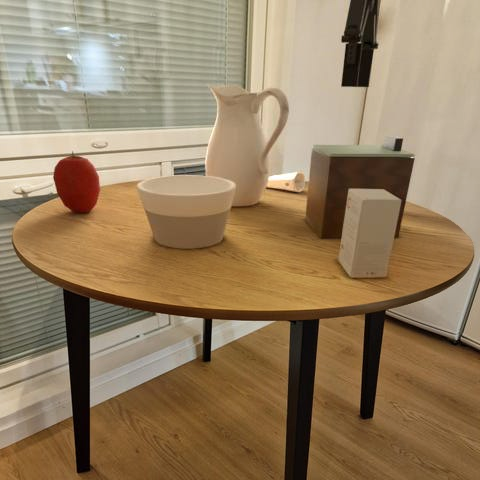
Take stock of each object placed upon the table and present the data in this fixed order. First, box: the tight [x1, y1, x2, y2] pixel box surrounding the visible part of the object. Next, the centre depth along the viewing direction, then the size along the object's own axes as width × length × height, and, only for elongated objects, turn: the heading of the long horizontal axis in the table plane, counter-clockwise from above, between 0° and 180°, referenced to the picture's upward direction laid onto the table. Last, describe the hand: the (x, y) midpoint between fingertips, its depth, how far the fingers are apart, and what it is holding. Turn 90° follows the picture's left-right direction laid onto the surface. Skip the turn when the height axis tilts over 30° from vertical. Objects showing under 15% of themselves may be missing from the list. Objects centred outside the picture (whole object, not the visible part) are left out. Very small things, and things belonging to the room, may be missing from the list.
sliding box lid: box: [312, 134, 416, 158], centre depth 87 cm, size 17×13×3 cm
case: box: [304, 147, 416, 239], centre depth 92 cm, size 17×14×16 cm
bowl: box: [136, 174, 236, 250], centre depth 85 cm, size 19×19×11 cm
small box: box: [337, 189, 402, 279], centre depth 71 cm, size 8×6×13 cm
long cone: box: [266, 171, 306, 193], centre depth 131 cm, size 6×6×19 cm
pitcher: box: [204, 83, 290, 207], centre depth 106 cm, size 24×17×28 cm
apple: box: [52, 150, 101, 214], centre depth 100 cm, size 10×10×14 cm
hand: (355, 87), depth 81 cm, fingers open, 13 cm apart
